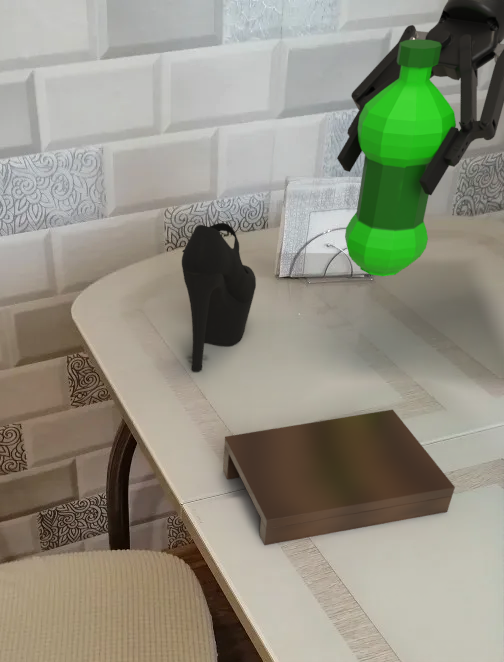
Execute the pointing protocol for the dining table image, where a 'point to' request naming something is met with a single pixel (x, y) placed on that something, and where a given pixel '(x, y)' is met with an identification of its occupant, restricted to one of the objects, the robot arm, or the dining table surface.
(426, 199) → the plastic bottle
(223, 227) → the high-heeled shoe
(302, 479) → the wooden display riser
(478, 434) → the dining table surface
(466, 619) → the dining table surface
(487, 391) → the dining table surface
